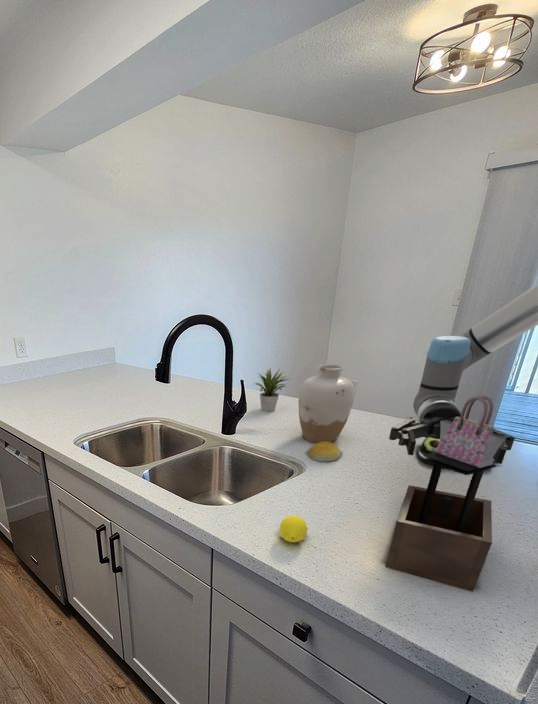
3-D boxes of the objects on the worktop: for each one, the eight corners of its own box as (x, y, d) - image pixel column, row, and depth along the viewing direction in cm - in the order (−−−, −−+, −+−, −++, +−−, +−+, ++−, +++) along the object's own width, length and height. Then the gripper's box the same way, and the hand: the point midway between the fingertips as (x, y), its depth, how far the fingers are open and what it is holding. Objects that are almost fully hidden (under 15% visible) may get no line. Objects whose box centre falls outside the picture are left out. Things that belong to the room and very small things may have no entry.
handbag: (393, 542, 86) (432, 392, 72) (421, 533, 88) (464, 386, 75) (444, 572, 77) (500, 408, 64) (473, 561, 79) (533, 400, 66)
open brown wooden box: (475, 545, 85) (491, 500, 81) (473, 591, 74) (492, 543, 69) (397, 526, 93) (408, 485, 88) (384, 566, 81) (396, 521, 76)
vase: (284, 439, 142) (292, 368, 131) (308, 426, 151) (318, 359, 141) (332, 450, 131) (344, 374, 121) (355, 436, 140) (368, 364, 130)
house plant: (275, 418, 161) (280, 374, 153) (242, 412, 169) (245, 370, 162) (292, 409, 170) (297, 366, 162) (260, 404, 178) (263, 363, 171)
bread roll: (305, 459, 126) (306, 446, 125) (313, 449, 133) (315, 437, 131) (335, 464, 122) (337, 451, 120) (342, 454, 128) (344, 441, 127)
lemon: (279, 529, 94) (282, 507, 92) (306, 533, 92) (309, 511, 90) (276, 547, 89) (279, 524, 86) (304, 551, 87) (308, 528, 84)
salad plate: (493, 451, 124) (498, 436, 122) (508, 477, 110) (514, 460, 108) (414, 444, 132) (418, 429, 130) (418, 466, 118) (422, 451, 116)
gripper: (503, 439, 93) (534, 480, 76) (372, 429, 103) (374, 463, 86) (515, 405, 90) (550, 439, 73) (379, 398, 100) (382, 426, 83)
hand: (455, 452), depth 79 cm, fingers open, 13 cm apart
